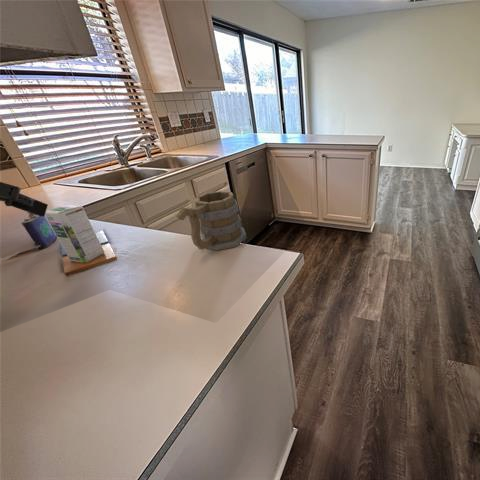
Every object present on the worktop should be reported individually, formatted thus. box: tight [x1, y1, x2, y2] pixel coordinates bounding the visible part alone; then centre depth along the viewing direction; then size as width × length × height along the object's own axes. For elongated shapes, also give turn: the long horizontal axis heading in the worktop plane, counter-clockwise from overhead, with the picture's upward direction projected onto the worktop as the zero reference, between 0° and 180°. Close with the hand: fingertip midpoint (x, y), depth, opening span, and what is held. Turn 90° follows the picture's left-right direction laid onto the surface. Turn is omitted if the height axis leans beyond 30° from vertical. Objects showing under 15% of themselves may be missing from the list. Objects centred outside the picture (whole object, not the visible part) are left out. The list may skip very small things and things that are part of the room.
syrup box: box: [45, 204, 105, 263], centre depth 70 cm, size 6×6×14 cm
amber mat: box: [61, 243, 118, 277], centre depth 73 cm, size 11×11×1 cm
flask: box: [21, 211, 58, 250], centre depth 82 cm, size 9×3×11 cm, turn 24°
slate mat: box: [59, 230, 110, 257], centre depth 82 cm, size 11×11×1 cm
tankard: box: [176, 190, 248, 252], centre depth 75 cm, size 20×13×15 cm, turn 159°
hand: (14, 211), depth 56 cm, fingers open, 13 cm apart
